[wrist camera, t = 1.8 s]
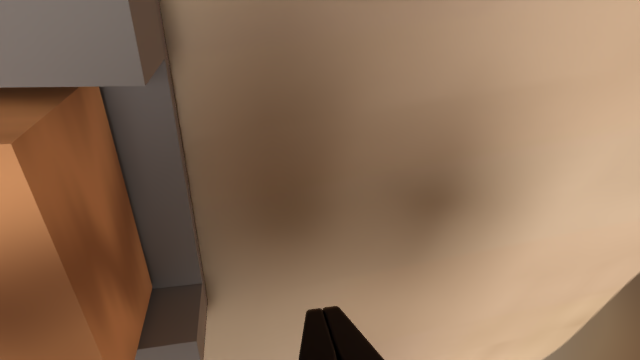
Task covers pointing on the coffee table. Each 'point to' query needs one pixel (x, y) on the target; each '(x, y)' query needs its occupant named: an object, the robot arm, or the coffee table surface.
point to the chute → (125, 139)
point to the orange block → (66, 231)
